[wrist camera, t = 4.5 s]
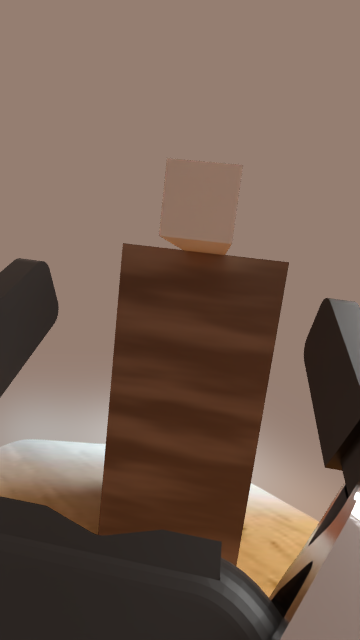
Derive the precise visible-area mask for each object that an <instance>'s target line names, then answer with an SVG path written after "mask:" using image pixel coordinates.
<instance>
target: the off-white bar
mask: <svg viewBox="0 0 360 640" xmlns="http://www.w3.org/2000/svg"><path fill="white" fill-rule="evenodd" d="M242 169H243V165H237V164H226V163H215V162H204V161H203V162H202V161H191V160H181V159H170V158H168V159H167V163H166V173H165V182H164V192H163V202H162V212H161V222H160V231H159V236H160V237H162V238H164V239H165V240H167V241H169V242H171V243H172V244H174V245H175V246H177V247H179V248H181V249H182V250H185V251H194V252H203V253H211V254H220V255H225V254H226V252H227V251H228V249H229V248H230V246H231V244H232V239H233V232H234V225H235V218H236V211H237V204H238V196H239V190H240V182H241V176H242Z"/></svg>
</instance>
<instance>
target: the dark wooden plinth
mask: <svg viewBox="0 0 360 640" xmlns="http://www.w3.org/2000/svg"><path fill="white" fill-rule="evenodd" d="M288 265H289V262H281V261H272V260H263V259H254V258H246V257H237V256H228V255H220V254H211V253H203V252H194V251H185V250H176V249H168V248H159V247H151V246H142V245H132V244H125V243H123V250H122V261H121V273H120V285H119V297H118V308H117V320H116V332H115V344H114V355H113V367H112V380H111V391H110V402H109V415H108V426H107V438H106V449H105V461H104V473H103V485H102V497H101V508H100V520H99V532H98V535H113V534H123V533H133V532H143V531H153V530H167V531H172V532H177V533H182V534H187V535H192V536H197V537H202V538H207V539H211V540H216V541H221V542H222V547H221V557H222V558H223V559H225V560H227V561H229V562H231V563H232V564H233V565H235V566H236V564H237V559H238V553H239V547H240V541H241V536H242V530H243V524H244V518H245V513H246V507H247V501H248V495H249V490H250V484H251V478H252V472H253V467H254V461H255V455H256V449H257V443H258V438H259V432H260V426H261V421H262V414H263V409H264V403H265V397H266V392H267V386H268V380H269V374H270V369H271V363H272V357H273V352H274V345H275V340H276V334H277V328H278V323H279V317H280V310H281V306H282V300H283V294H284V288H285V282H286V277H287V271H288Z"/></svg>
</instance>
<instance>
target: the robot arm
mask: <svg viewBox="0 0 360 640" xmlns="http://www.w3.org/2000/svg"><path fill="white" fill-rule="evenodd" d="M57 316H58V301H57V297H56V293H55V289H54V286H53V281H52V278H51V273H50V269H49V267H48V265H47V264H46V263H45V262H43V261H36V260H28V259H21V258H19V259H16V260H14V261H13V262H12V263H11V264H10V265H8V266H7V267H6V268H5V269H4V270H3V271H1V272H0V397H1V396H2V394H3V393H4V392H5V390H6V389H7V388H8V386H9V385H10V383H11V382H12V380H13V379H14V378H15V377H16V375H17V374H18V372H19V371H20V370H21V368H22V367H23V366H24V364H25V363H26V361H27V360H28V359H29V357H30V356H31V355H32V353H33V352H34V351H35V349H36V347H37V346H38V345H39V344H40V342H41V341H42V340H43V338H44V337H45V335H46V334H47V333H48V331H49V330H50V329H51V327H52V326H53V324H54V323H55V321H56V319H57ZM304 362H305V367H306V372H307V377H308V382H309V388H310V393H311V398H312V403H313V408H314V414H315V419H316V424H317V429H318V434H319V440H320V445H321V450H322V455H323V460H324V465H325V468H331V469H337V470H342V471H343V474H344V478H345V484H344V485H343V486H342V488H341V489H340V490H339V492H338V493H337V495H336V497H335V498H334V500H333V501H332V503H331V505H330V506H329V508H328V509H327V511H326V513H325V514H324V516H323V517H322V519H321V521H320V522H319V524H318V525H317V527H316V529H315V530H314V532H313V533H312V535H311V537H310V538H309V540H308V541H307V543H306V545H305V546H304V548H303V549H302V551H301V552H300V554H299V555H298V556H297V558H296V559H295V560H294V562H293V563H292V564H291V566H290V567H289V568H288V570H287V571H286V573H285V574H284V576H283V577H282V579H281V580H280V582H279V583H278V585H277V586H276V588H275V589H274V591H273V593H272V594H271V596H270V597H269V598H268V597H267V595H266V594H265V593H264V592H263V591H262V590H261V588H260V587H259V586H258V585H257V584H256V583H255V582H254V581H253V580H252V579H251V578H250V577H249V576H248V575H246V574H245V573H244V572H243V571H241V570H240V569H239V568H237V567H236V566H235V565H233V564H232V563H231V562H229V561H227V560H225V559H223V558H222V557H221V547H222V542H221V541H216V540H211V539H207V538H202V537H197V536H192V535H187V534H182V533H177V532H172V531H167V530H153V531H143V532H133V533H123V534H113V535H96V534H94V533H92V532H90V531H88V530H86V529H85V528H83V527H81V526H80V525H78V524H76V523H75V522H73V521H71V520H69V519H68V518H66V517H64V516H63V515H61V514H59V513H58V512H56V511H54V510H52V509H51V508H49V507H47V506H44V505H39V504H35V503H30V502H25V501H20V500H15V499H10V498H5V497H0V640H360V308H359V305H358V304H357V303H356V302H353V301H345V300H338V299H330V298H326V299H324V300H323V302H322V304H321V306H320V308H319V311H318V313H317V316H316V317H315V320H314V322H313V325H312V327H311V329H310V332H309V334H308V337H307V339H306V343H305V348H304Z"/></svg>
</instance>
